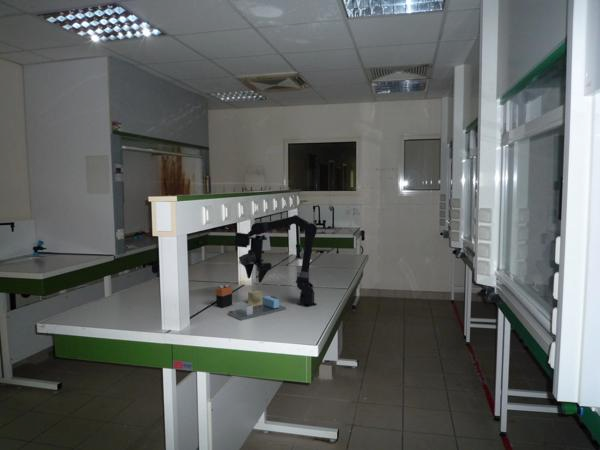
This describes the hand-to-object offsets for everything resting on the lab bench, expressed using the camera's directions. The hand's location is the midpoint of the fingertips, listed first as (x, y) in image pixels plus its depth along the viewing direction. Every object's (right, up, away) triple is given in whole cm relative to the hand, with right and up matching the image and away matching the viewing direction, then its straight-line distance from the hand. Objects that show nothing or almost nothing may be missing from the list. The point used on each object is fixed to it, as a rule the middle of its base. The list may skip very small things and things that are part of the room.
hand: (254, 280), depth 201 cm
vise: (+2, -13, -12) cm, 18 cm away
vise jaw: (+9, -11, -6) cm, 15 cm away
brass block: (0, -12, +2) cm, 12 cm away
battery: (-14, -12, -1) cm, 19 cm away
